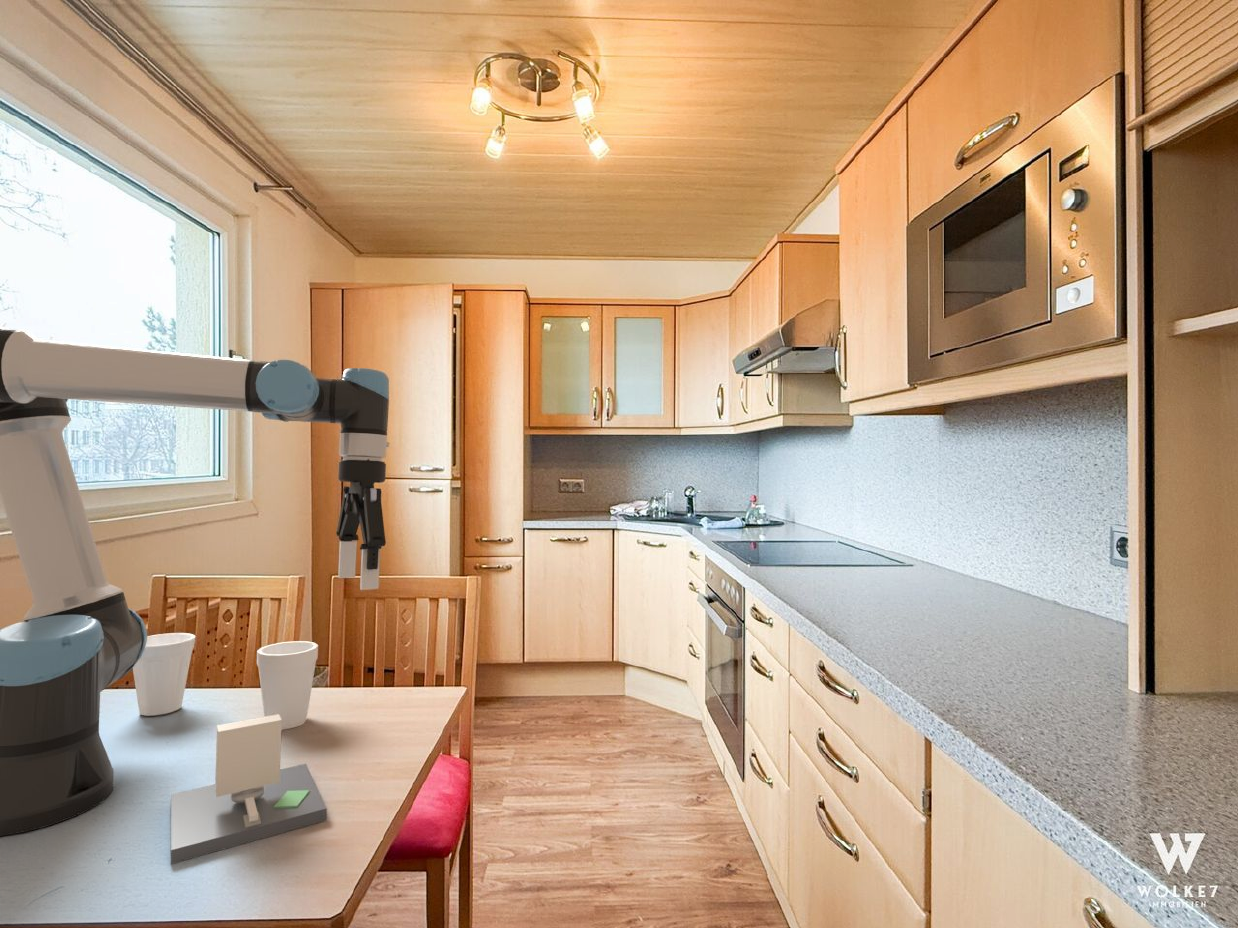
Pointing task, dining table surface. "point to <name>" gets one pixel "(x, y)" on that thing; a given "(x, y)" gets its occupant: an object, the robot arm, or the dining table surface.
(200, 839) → the base
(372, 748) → the dining table surface
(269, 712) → the foam cup
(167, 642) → the cup
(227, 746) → the cream angular block
